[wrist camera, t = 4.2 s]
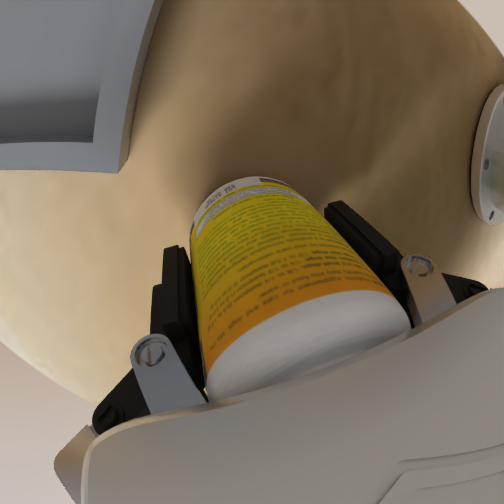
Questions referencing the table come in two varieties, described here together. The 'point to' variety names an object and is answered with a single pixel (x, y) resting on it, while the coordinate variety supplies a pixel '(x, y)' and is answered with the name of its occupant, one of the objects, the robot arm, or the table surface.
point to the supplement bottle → (279, 290)
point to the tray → (71, 81)
